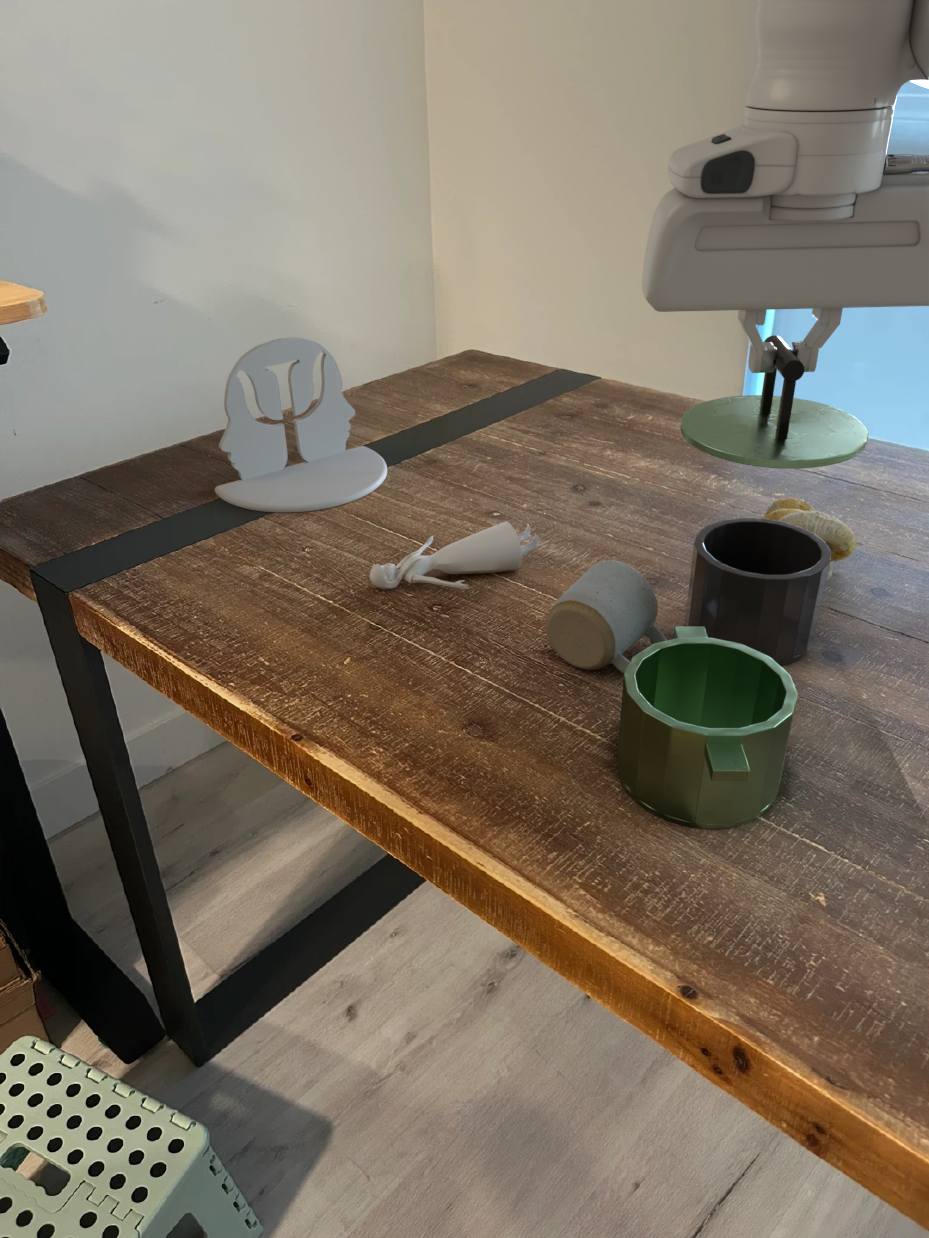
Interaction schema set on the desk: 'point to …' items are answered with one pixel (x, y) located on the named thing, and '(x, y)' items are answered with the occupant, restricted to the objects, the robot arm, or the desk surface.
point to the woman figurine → (460, 558)
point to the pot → (704, 730)
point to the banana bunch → (815, 526)
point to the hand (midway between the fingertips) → (780, 370)
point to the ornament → (318, 434)
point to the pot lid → (775, 424)
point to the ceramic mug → (603, 616)
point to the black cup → (758, 585)
